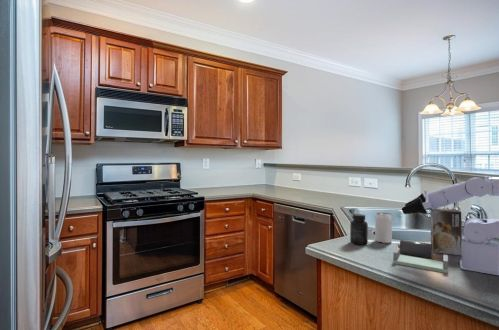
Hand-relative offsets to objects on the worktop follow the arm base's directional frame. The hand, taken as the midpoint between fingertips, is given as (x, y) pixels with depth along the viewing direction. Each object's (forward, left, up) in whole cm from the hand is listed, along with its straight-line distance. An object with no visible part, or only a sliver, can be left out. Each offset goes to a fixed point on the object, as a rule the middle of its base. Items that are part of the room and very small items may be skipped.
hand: (404, 209), depth 105 cm
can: (+9, -16, -17) cm, 25 cm away
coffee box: (-13, -14, -17) cm, 25 cm away
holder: (-6, +7, -17) cm, 19 cm away
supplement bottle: (+17, -7, -17) cm, 25 cm away
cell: (-4, -3, -17) cm, 18 cm away
